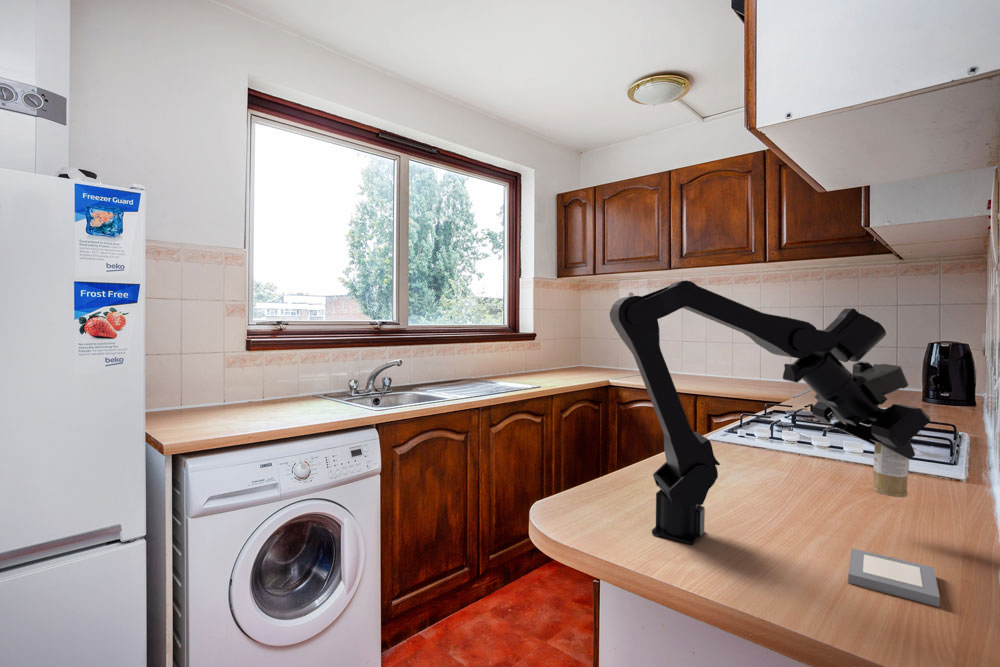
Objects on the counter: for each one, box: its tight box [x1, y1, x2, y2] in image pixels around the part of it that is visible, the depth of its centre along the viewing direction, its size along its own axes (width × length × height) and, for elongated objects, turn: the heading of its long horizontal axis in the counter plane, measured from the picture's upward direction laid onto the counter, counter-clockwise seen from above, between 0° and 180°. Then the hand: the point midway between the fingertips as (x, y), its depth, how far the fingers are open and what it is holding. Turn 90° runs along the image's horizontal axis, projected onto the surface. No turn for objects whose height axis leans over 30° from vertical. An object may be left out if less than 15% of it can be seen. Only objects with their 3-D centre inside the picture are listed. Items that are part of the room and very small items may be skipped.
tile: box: [847, 547, 941, 608], centre depth 66 cm, size 9×9×1 cm
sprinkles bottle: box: [871, 407, 910, 498], centre depth 79 cm, size 5×5×13 cm
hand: (900, 452), depth 79 cm, fingers closed on sprinkles bottle, 4 cm apart
